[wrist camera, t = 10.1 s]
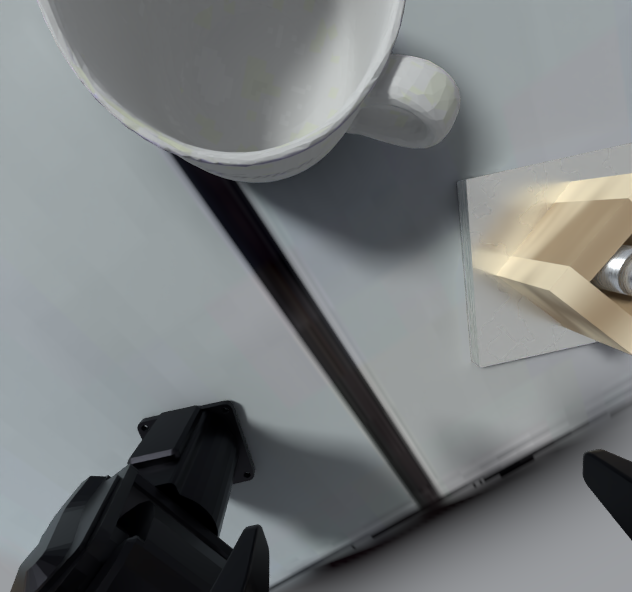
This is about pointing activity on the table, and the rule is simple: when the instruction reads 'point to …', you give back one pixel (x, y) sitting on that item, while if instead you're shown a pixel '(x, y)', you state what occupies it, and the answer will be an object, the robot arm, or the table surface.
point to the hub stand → (503, 240)
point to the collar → (579, 260)
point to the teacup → (254, 78)
